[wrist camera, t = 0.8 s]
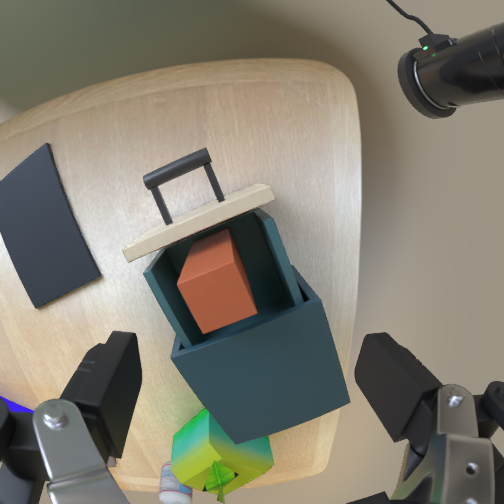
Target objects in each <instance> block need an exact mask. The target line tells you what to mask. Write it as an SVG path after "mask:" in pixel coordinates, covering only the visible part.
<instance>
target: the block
mask: <svg viewBox="0 0 504 504" xmlns="http://www.w3.org/2000/svg"><path fill="white" fill-rule="evenodd" d="M177 286H178V288H179V290H180V292H181V294H182V296H183V298H184V300H185V302H186V303H187V305H188V307H189V309H190V311H191V313H192V315H193V316H194V318H195V320H196V322H197V324H198V326H199V327H200V329H201V331H202V333H203V334H205V333H208V332H211V331H213V330H216V329H219V328H221V327H224V326H226V325H229V324H232V323H234V322H237V321H239V320H242V319H245V318H247V317H250V316H252V315H255V314H257V309H256V306H255V302H254V299H253V295H252V292H251V288H250V285H249V281H248V278H247V274H246V270H245V267H244V263H243V260H242V258H241V256H240V253H239V251H238V248H237V246H236V244H235V241H234V239H233V237H232V234H231V232H230V230H229V227H228V228H225V229H223V230H220V231H218V232H216V233H213V234H211V235H208V236H206V237H204V238H201V239H199V240H197V241H194V242H193V243H192V246H191V249H190V251H189V254H188V256H187V259H186V261H185V264H184V267H183V269H182V272H181V275H180V277H179V280H178V283H177Z"/></svg>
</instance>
